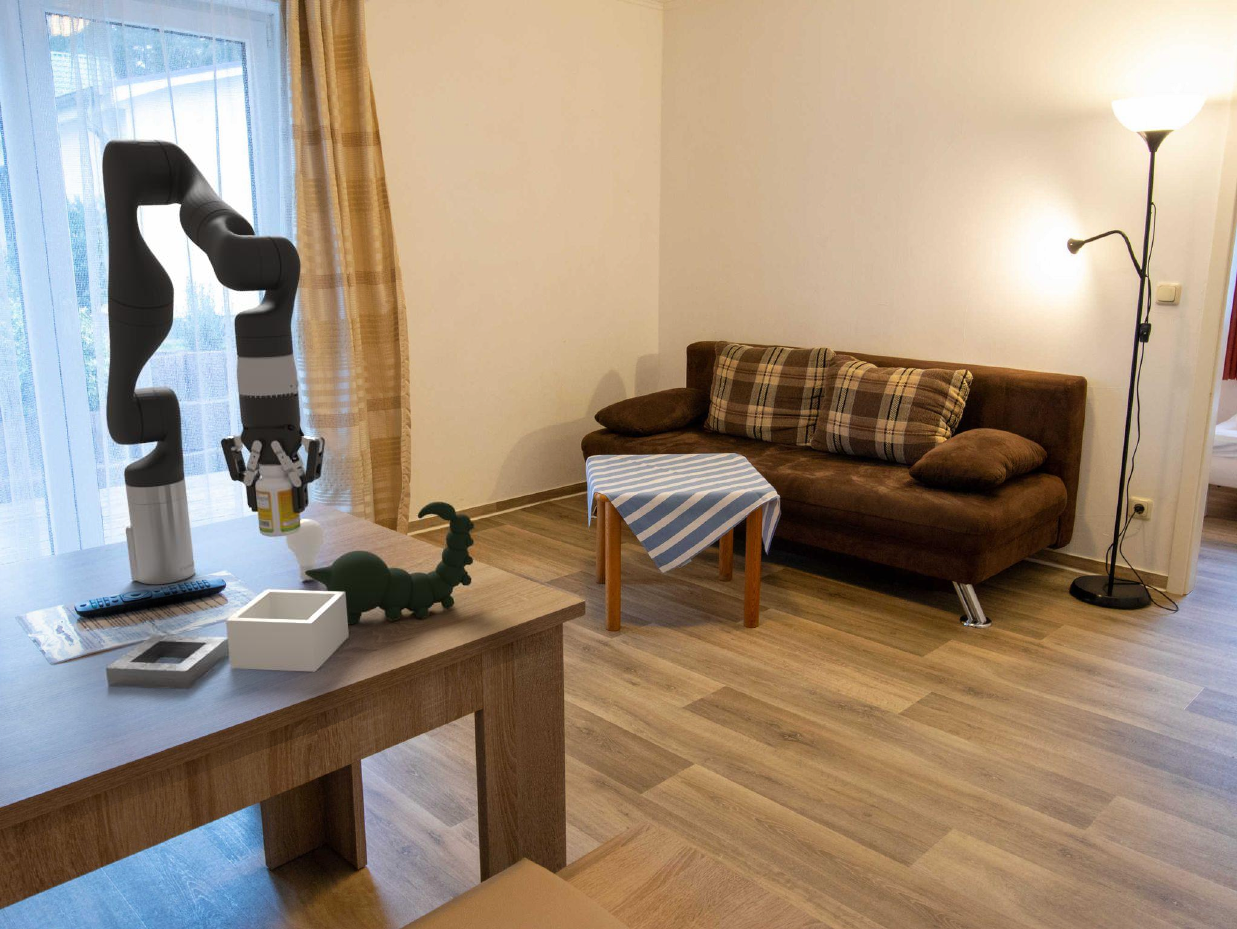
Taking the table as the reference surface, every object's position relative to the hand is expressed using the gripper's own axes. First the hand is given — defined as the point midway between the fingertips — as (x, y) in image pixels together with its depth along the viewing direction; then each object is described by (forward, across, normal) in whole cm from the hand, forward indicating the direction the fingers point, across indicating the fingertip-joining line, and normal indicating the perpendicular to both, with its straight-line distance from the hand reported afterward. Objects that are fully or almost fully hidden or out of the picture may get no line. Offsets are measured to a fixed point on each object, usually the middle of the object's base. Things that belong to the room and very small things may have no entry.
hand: (279, 510), depth 130 cm
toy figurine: (+21, +10, +14) cm, 28 cm away
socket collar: (+21, -14, -7) cm, 26 cm away
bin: (+21, 0, 0) cm, 21 cm away
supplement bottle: (+3, 0, 0) cm, 3 cm away
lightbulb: (+21, -10, +29) cm, 37 cm away
